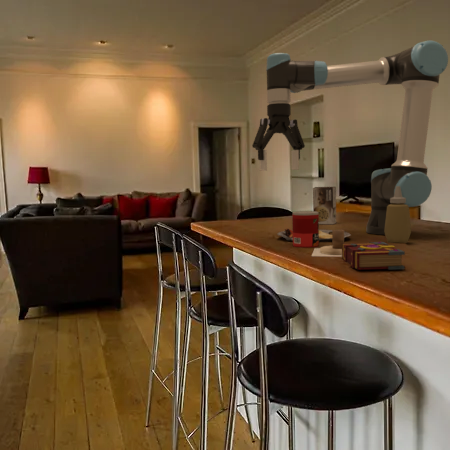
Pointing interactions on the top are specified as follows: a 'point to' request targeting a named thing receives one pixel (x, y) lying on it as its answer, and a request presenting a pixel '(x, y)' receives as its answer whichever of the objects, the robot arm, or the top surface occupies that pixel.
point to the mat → (317, 253)
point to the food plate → (323, 235)
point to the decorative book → (372, 256)
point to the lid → (334, 244)
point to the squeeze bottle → (397, 219)
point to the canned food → (305, 229)
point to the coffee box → (325, 204)
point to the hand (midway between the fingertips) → (279, 170)
